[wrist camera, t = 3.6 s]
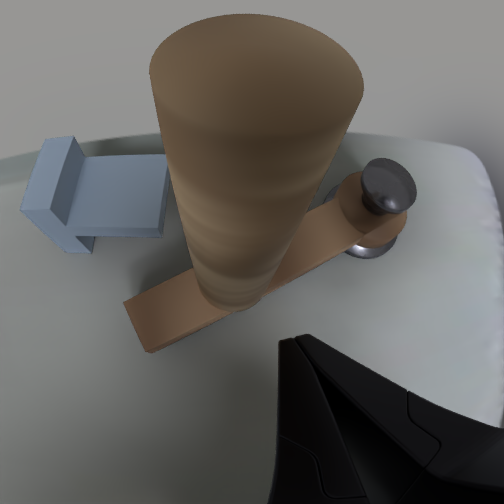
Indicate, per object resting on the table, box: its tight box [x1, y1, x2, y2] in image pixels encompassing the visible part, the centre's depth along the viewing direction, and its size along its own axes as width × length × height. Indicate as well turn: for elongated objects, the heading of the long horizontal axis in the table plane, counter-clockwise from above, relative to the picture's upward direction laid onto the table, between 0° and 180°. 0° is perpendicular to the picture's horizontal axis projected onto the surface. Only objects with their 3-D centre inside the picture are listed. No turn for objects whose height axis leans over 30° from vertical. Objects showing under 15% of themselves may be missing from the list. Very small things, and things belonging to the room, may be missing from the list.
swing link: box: [123, 14, 407, 353], centre depth 12 cm, size 18×5×14 cm, turn 119°
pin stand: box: [323, 158, 417, 259], centre depth 19 cm, size 6×6×5 cm
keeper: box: [20, 136, 170, 253], centre depth 17 cm, size 7×4×6 cm, turn 90°
